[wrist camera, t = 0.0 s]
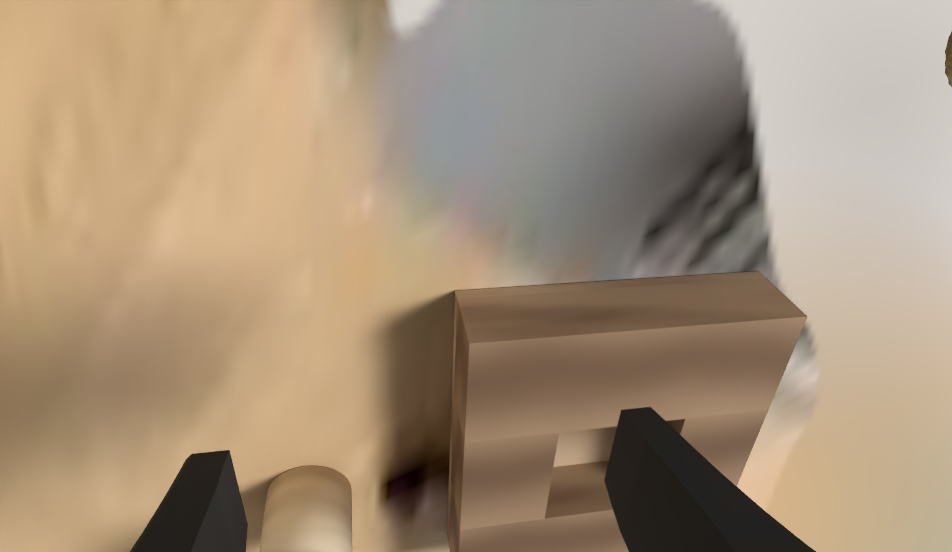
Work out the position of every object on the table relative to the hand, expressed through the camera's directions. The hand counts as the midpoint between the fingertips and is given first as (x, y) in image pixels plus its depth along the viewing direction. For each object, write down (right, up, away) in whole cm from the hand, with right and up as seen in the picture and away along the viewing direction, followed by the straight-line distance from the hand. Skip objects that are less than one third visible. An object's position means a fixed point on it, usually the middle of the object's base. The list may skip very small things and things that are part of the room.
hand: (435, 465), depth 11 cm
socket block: (+6, -2, +15) cm, 16 cm away
